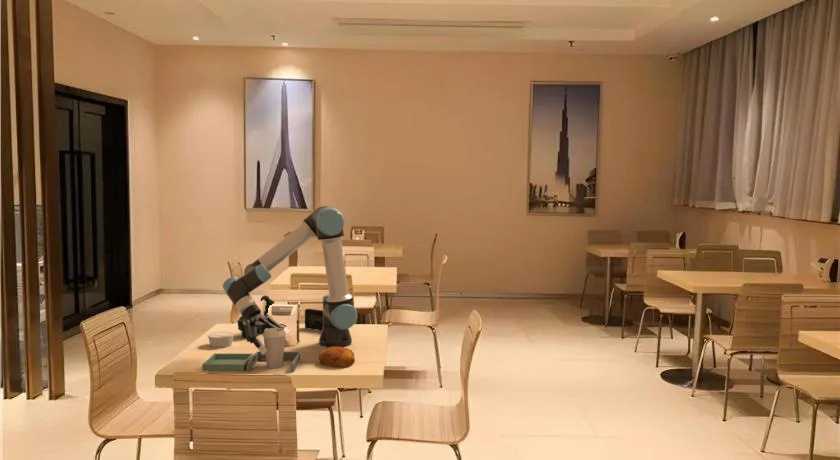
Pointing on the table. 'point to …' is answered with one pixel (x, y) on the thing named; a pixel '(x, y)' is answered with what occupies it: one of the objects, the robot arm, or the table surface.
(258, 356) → the dock
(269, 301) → the toy figurine
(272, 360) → the coffee cup
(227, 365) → the tray
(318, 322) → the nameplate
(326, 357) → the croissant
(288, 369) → the table surface
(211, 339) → the ramekin
